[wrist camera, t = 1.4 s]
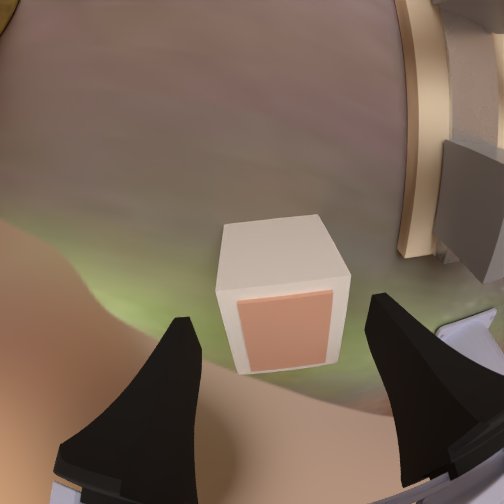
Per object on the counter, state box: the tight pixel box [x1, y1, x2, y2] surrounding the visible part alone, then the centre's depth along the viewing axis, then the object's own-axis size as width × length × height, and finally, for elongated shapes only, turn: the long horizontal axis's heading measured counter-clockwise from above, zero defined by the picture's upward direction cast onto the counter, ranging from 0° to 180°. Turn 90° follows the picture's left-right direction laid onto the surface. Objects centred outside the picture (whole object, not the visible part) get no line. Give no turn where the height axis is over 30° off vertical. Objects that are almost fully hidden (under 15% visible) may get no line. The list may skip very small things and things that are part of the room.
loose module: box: [215, 214, 351, 375], centre depth 12 cm, size 5×4×5 cm
